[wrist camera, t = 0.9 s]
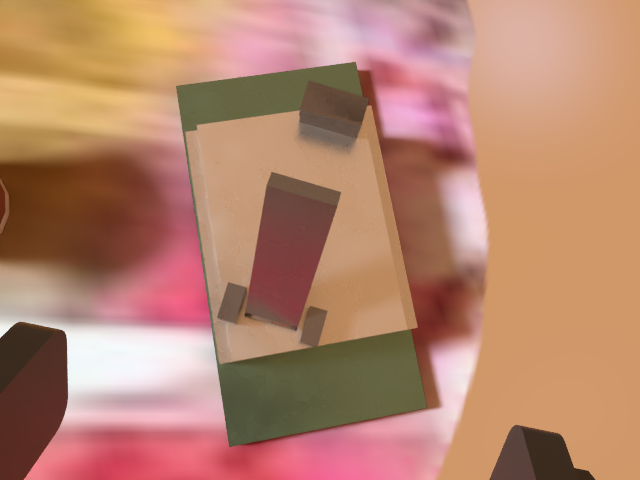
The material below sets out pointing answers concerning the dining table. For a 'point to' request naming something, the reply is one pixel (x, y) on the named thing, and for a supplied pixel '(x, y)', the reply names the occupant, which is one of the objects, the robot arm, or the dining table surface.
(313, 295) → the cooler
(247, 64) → the dining table surface
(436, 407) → the dining table surface
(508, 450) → the robot arm
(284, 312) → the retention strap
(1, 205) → the coffee cup
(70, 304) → the dining table surface
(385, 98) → the dining table surface
